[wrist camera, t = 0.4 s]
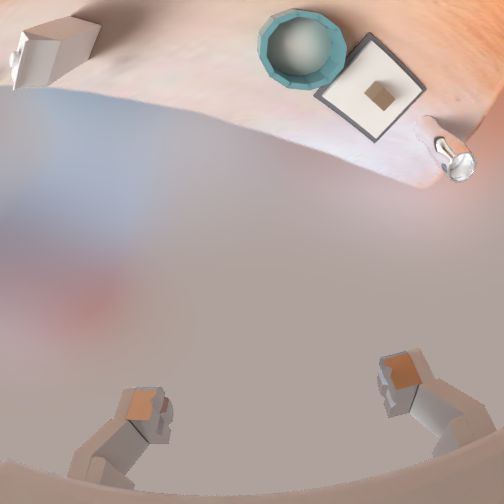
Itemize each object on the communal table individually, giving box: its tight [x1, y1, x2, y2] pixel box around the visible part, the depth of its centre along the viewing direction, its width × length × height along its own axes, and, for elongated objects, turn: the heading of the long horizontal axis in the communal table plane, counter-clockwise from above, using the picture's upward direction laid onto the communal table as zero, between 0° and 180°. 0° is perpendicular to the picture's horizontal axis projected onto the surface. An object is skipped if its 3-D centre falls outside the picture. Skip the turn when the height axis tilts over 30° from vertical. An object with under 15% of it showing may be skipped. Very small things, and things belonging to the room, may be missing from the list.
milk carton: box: [10, 16, 101, 91], centre depth 33 cm, size 7×7×19 cm
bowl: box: [257, 9, 347, 90], centre depth 42 cm, size 13×13×6 cm
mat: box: [313, 33, 426, 143], centre depth 50 cm, size 16×16×1 cm
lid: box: [322, 40, 422, 139], centre depth 48 cm, size 14×14×5 cm
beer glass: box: [413, 116, 477, 183], centre depth 50 cm, size 7×7×15 cm
